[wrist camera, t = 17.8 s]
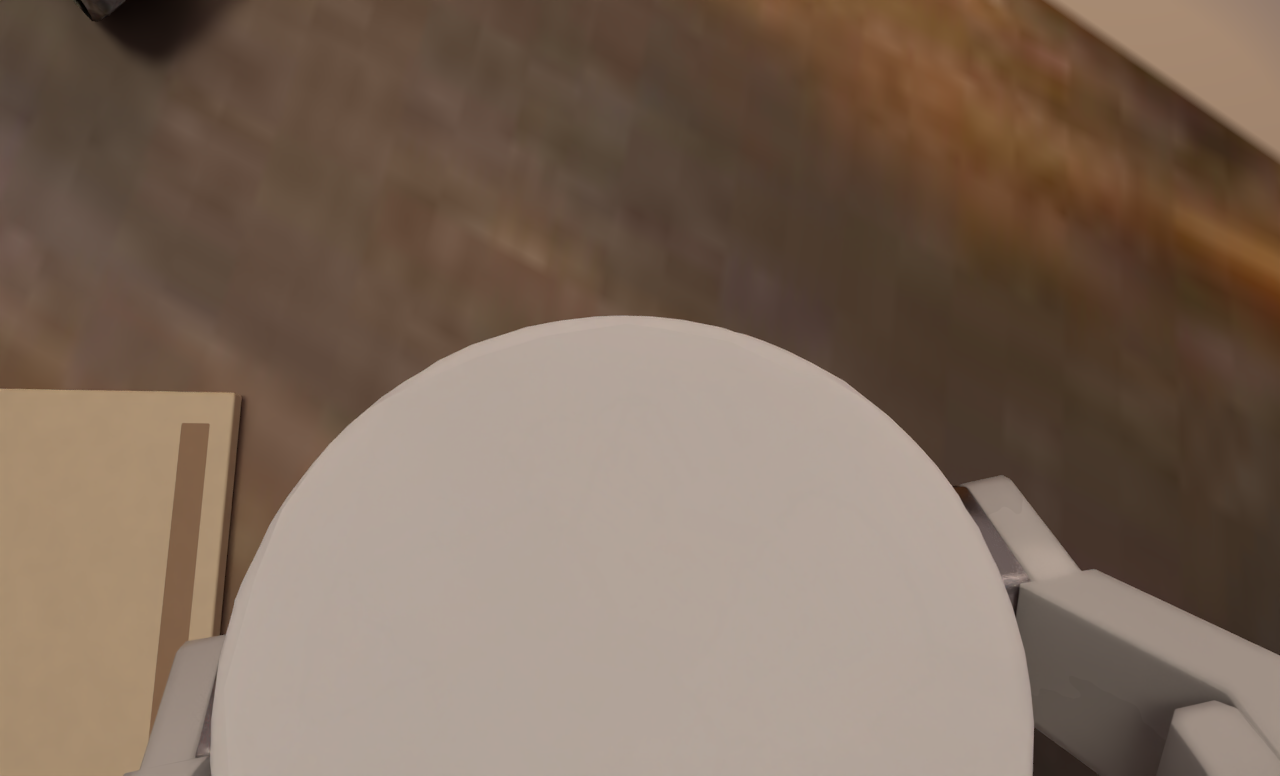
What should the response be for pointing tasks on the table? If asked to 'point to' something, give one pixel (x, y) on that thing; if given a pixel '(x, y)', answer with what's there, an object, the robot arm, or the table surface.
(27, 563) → the cutting board
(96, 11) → the wristwatch
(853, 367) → the table surface
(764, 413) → the pill bottle
